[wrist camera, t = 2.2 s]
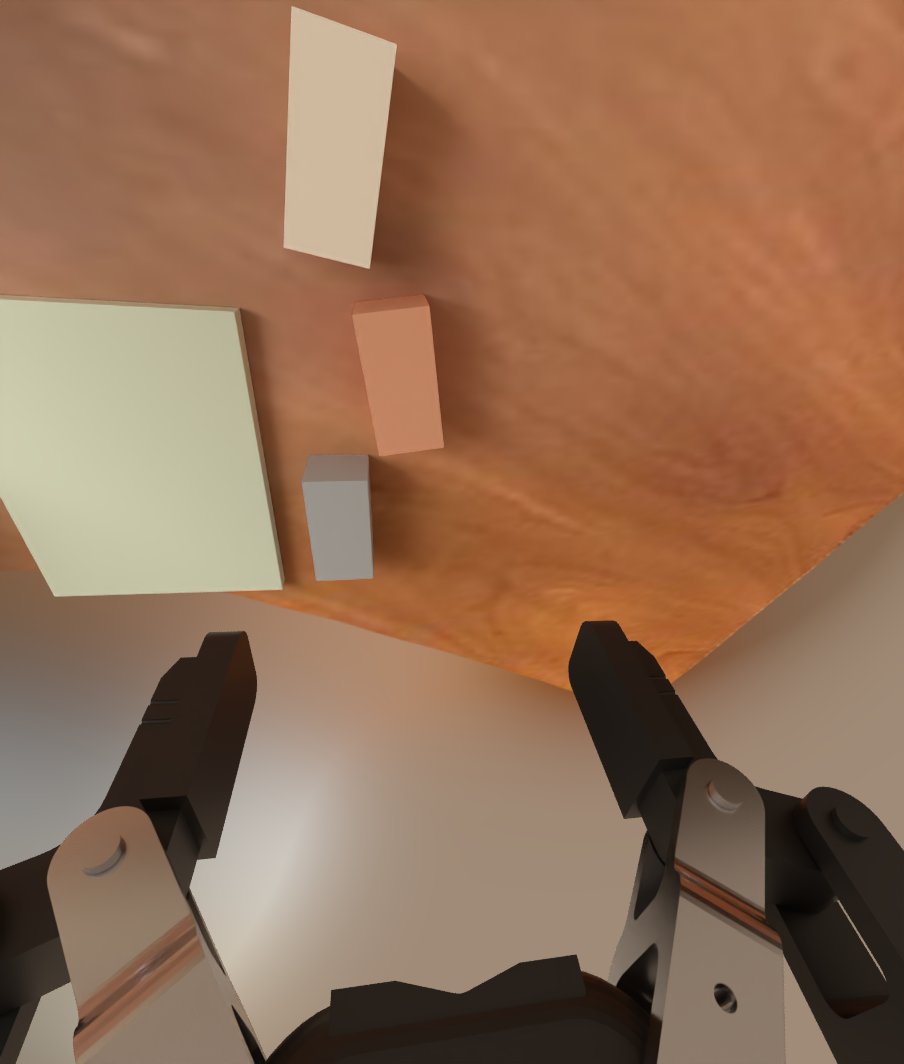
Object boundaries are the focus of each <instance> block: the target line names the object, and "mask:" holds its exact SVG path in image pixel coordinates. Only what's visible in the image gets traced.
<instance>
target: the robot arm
mask: <svg viewBox="0 0 904 1064" xmlns="http://www.w3.org/2000/svg"><path fill="white" fill-rule="evenodd" d="M568 672H569V680H570V684H571V687H572V690H573V692H574V695H575V697H576V700H577V702H578V705H579V707H580V710H581V712H582V715H583V717H584V720H585V722H586V724H587V727H588V730H589V732H590V735H591V737H592V740H593V742H594V745H595V747H596V750H597V752H598V755H599V757H600V760H601V762H602V765H603V767H604V770H605V772H606V775H607V777H608V780H609V782H610V785H611V787H612V790H613V792H614V795H615V797H616V800H617V802H618V805H619V808H620V810H621V812H622V815H623V817H624V819H627V818H638V817H642V818H643V821H644V823H645V825H646V828H647V831H646V833H645V836H644V839H643V844H642V849H641V854H640V858H639V863H638V868H637V873H636V877H635V882H634V887H633V892H632V896H631V901H630V906H629V911H628V916H627V920H626V924H625V927H624V930H623V933H622V936H621V938H620V940H619V942H618V945H617V947H616V951H615V954H614V956H613V960H612V964H611V968H610V972H609V976H608V981H605V980H603V979H601V978H599V977H597V976H594V975H592V974H589V973H587V972H583V971H581V970H580V966H579V962H578V958H577V955H570V956H563V957H556V958H549V959H542V960H535V961H529V962H522V963H519V964H517V965H515V966H513V967H511V968H509V969H508V970H506V971H504V972H502V973H500V974H499V975H497V976H495V977H493V978H491V979H489V980H488V981H486V982H484V983H482V984H480V985H478V986H476V987H475V988H473V989H471V990H469V991H467V992H465V993H461V994H456V993H450V992H445V991H440V990H436V989H431V988H427V987H422V986H417V985H412V984H407V983H403V982H398V981H391V982H384V983H377V984H370V985H364V986H357V987H349V988H343V989H336V990H331V1003H330V1006H329V1007H327V1008H326V1009H323V1010H322V1011H320V1012H318V1013H316V1014H315V1015H314V1016H312V1017H311V1018H309V1019H308V1020H306V1021H305V1022H304V1023H302V1024H301V1025H300V1026H299V1027H297V1028H296V1029H295V1030H294V1031H293V1032H292V1033H291V1034H290V1035H289V1036H287V1037H286V1039H285V1040H284V1041H283V1042H282V1043H281V1044H280V1045H279V1046H278V1047H277V1048H276V1049H275V1051H274V1052H273V1053H272V1054H271V1055H270V1056H269V1058H268V1059H267V1058H266V1056H265V1054H264V1052H263V1049H262V1047H261V1045H260V1043H259V1040H258V1038H257V1036H256V1034H255V1031H254V1029H253V1027H252V1025H251V1022H250V1020H249V1018H248V1016H247V1014H246V1011H245V1009H244V1008H243V1005H242V1003H241V1001H240V999H239V997H238V995H237V993H236V991H235V989H234V987H233V985H232V983H231V981H230V979H229V976H228V974H227V972H226V970H225V967H224V965H223V963H222V961H221V959H220V956H219V954H218V952H217V949H216V947H215V945H214V943H213V940H212V938H211V936H210V933H209V931H208V929H207V926H206V924H205V922H204V920H203V918H202V915H201V913H200V911H199V908H198V906H197V904H196V902H195V899H194V897H193V895H192V893H191V890H190V888H189V886H190V882H191V879H192V876H193V872H194V869H195V865H196V861H197V860H199V859H208V858H215V857H216V854H217V850H218V846H219V842H220V838H221V835H222V831H223V827H224V823H225V819H226V815H227V811H228V806H229V803H230V799H231V795H232V791H233V787H234V783H235V779H236V775H237V771H238V767H239V763H240V759H241V755H242V751H243V747H244V743H245V739H246V736H247V732H248V728H249V724H250V720H251V716H252V712H253V708H254V704H255V699H256V692H257V676H256V671H255V666H254V662H253V658H252V653H251V649H250V645H249V641H248V636H247V634H246V632H245V631H238V632H210V633H208V634H207V635H206V637H205V638H204V641H203V643H202V646H201V648H200V650H199V653H198V656H197V657H191V658H190V657H188V658H180V659H179V660H178V661H177V662H176V663H175V664H174V665H173V666H172V667H171V668H170V669H169V670H168V672H167V673H166V674H165V675H164V676H163V677H162V678H161V680H160V682H159V684H158V686H157V688H156V690H155V693H154V695H153V697H152V699H151V704H150V705H149V706H148V707H147V710H146V712H145V714H144V716H143V718H142V724H141V725H139V727H138V729H137V731H136V733H135V735H134V738H133V740H132V742H131V744H130V746H129V748H128V750H127V753H126V755H125V757H124V759H123V761H122V763H121V766H120V768H119V770H118V772H117V774H116V776H115V778H114V781H113V783H112V785H111V787H110V789H109V791H108V794H107V796H106V798H105V800H104V801H103V803H102V805H101V807H100V808H99V810H98V811H97V812H96V814H95V815H94V816H92V817H91V818H89V819H88V820H86V821H85V822H83V823H82V824H81V825H79V826H78V827H77V828H76V829H75V830H74V831H72V832H71V833H70V835H68V837H67V838H66V839H65V840H64V841H63V843H62V844H61V845H59V846H57V847H56V848H53V849H52V850H50V851H47V852H45V853H43V854H41V855H38V856H36V857H33V858H30V859H28V860H25V861H23V862H20V863H18V864H15V865H12V866H10V867H7V868H5V869H2V870H0V1064H16V1061H17V1058H18V1056H19V1053H20V1050H21V1048H22V1045H23V1043H24V1040H25V1037H26V1035H27V1032H28V1030H29V1027H30V1024H31V1022H32V1019H33V1016H34V1014H35V1011H36V1009H37V1006H38V1003H39V1001H40V998H41V996H43V995H45V994H47V993H49V992H51V991H53V990H55V989H57V988H59V987H61V986H63V985H65V984H67V983H69V982H71V984H72V987H73V991H74V996H75V1000H76V1004H77V1008H78V1014H79V1023H78V1026H77V1027H76V1029H75V1031H74V1037H73V1047H74V1055H75V1062H76V1064H786V1060H785V1014H784V969H783V954H784V956H785V958H786V961H787V963H788V965H789V967H790V969H791V971H792V973H793V975H794V976H795V979H796V981H797V983H798V984H799V987H800V989H801V991H802V992H803V995H804V997H805V999H806V1001H807V1003H808V1005H809V1007H810V1009H811V1011H812V1013H813V1015H814V1017H815V1019H816V1021H817V1023H818V1025H819V1027H820V1029H821V1031H822V1033H823V1035H824V1037H825V1039H826V1041H827V1043H828V1045H829V1047H830V1049H831V1051H832V1053H833V1055H834V1057H835V1059H836V1061H837V1064H904V851H903V849H902V848H901V847H900V845H899V844H898V843H897V841H896V840H895V839H894V837H893V836H892V835H891V833H890V832H889V831H888V830H887V828H886V827H885V826H884V824H883V823H882V822H881V821H880V819H879V818H878V817H877V816H876V815H875V814H874V813H873V812H872V811H871V810H870V809H869V808H867V807H866V806H865V805H864V804H863V803H861V802H860V801H859V800H857V799H855V798H854V797H852V796H851V795H849V794H847V793H845V792H843V791H840V790H837V789H834V788H830V787H817V788H815V789H813V790H812V791H810V792H809V793H808V794H807V795H806V797H804V798H803V799H801V798H797V797H793V796H789V795H785V794H781V793H777V792H773V791H769V790H765V789H762V788H758V787H755V786H754V785H753V784H752V782H751V781H750V780H749V779H748V778H747V777H746V776H745V775H744V774H743V773H741V772H740V771H739V770H737V769H736V768H735V767H733V766H731V765H729V764H728V763H725V762H723V761H720V760H718V759H717V758H716V757H715V755H714V754H713V752H712V751H711V749H710V747H709V746H708V744H707V742H706V741H705V739H704V738H703V736H702V734H701V733H700V731H699V729H698V728H697V726H696V724H695V723H694V721H693V720H692V718H691V716H690V715H689V713H688V711H687V710H686V708H685V706H684V705H683V703H682V702H681V700H680V698H679V697H678V695H676V694H675V690H674V688H673V687H672V685H671V683H670V682H669V680H668V679H666V677H665V676H666V675H665V674H664V672H663V670H662V669H661V667H660V665H659V664H658V662H657V660H656V659H655V657H654V656H653V655H652V654H651V653H649V652H648V651H647V650H646V649H645V648H644V647H643V646H642V645H641V644H640V643H638V642H637V641H628V639H627V638H626V636H625V634H624V632H623V631H622V629H621V627H620V626H619V624H618V623H617V622H616V621H585V622H583V623H582V625H581V627H580V630H579V633H578V636H577V639H576V642H575V645H574V648H573V651H572V654H571V657H570V661H569V667H568ZM838 900H840V902H841V904H842V906H843V907H844V909H845V910H846V912H847V914H848V915H849V917H850V919H851V920H852V922H853V923H854V925H855V927H856V928H857V930H858V932H859V933H860V935H861V937H862V938H863V940H864V941H865V943H866V945H867V946H868V948H869V949H870V951H871V953H872V954H873V956H874V958H875V959H876V961H877V963H878V964H879V966H880V968H881V969H882V971H883V974H884V976H885V978H886V980H885V979H884V977H883V975H882V974H881V972H880V970H879V969H878V967H877V966H876V964H875V962H874V961H873V959H872V957H871V956H870V954H869V952H868V951H867V949H866V948H865V946H864V944H863V943H862V941H861V939H860V938H859V936H858V934H857V933H856V931H855V930H854V928H853V926H852V925H851V923H850V922H849V920H848V918H847V917H846V915H845V913H844V912H843V910H842V908H841V907H840V905H839V903H838V902H837V901H838ZM766 920H767V921H766ZM767 922H768V923H767ZM886 981H887V982H886Z"/></svg>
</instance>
